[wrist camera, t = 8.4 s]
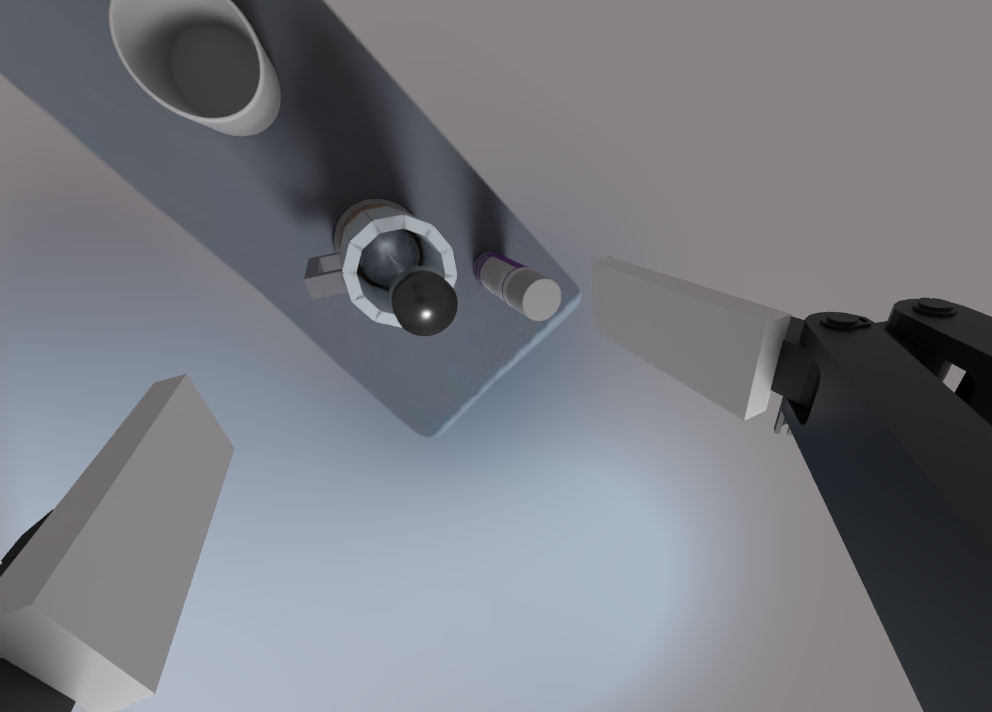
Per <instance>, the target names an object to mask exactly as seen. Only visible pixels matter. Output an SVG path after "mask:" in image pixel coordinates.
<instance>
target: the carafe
mask: <svg viewBox="0 0 992 712" xmlns="http://www.w3.org/2000/svg"><path fill="white" fill-rule="evenodd" d="M398 229H403V230H405V231H406V232H408V233H409V234H410V235H411V236H412V237H413V239H414V240H415V242H416V244H417V246H418V249H419V254H420V260H419V266H423V267H428V268H430V269H432V270H434V271H436V272H437V273H438V274H439V275H441V276H442V277H443V278H444V279H445V280H446V281H447V282H448V283H449V284H450V285H451V286H452V287H454V284H455V281H456V278H457V272H456V266H455V261H454V256H453V250H452V247H451V246H450V245H449V244H448V243H447V241H446V240H445V239H444V238H443V237H442V235H441V234H440V233H439V232H438V231H437V229H436V228H435V227H434V226H433V225H431V224H429V223H427V222H425V221H423V220H421V219H419V218H417V217H415V216H413V215H411V214H410V213H409V212H408V211H407V210H406V209H405V208H403V207H402V206H400V205H399V204H396V203H394V202H392V201H389V200H385V199H375V198H374V199H366V200H362V201H360V202H357V203H355V204H354V205H352V206H351V207H349V208H348V209H347V210H346V211H345V212H344V213H343V215H342V216H341V218H340V219H339V221H338V223H337V226H336V229H335V236H334V243H335V250H336V253H333V254H328V255H324V256H319V257H314V258H309V260H308V264H307V269H306V273H305V277H304V280H305V283H306V286H307V288H308V291H309V293H310V296H311V299H312V300H316V299H320V298H325V297H329V296H333V295H337V294H341V293H346V292H349V295H350V298H351V301H352V302H353V303H354V304H355V305H356V306H357V307H358V308H359V309H361V310H362V311H363V312H364V313H365V314H366V315H367V316H369V317H370V318H371V319H372V320H373V321H375V322H379V323H383V324H388V325H392V326H397V327H401V328H402V326H401V325H400V324H399V322H398V320H397V318H396V316H395V314H394V312H393V310H392V308H391V306H390V302H389V289H390V286H383V285H380V284H377V283H375V282H374V281H372V280H371V279H369V278H368V277H367V276H366V275H365V273H364V272H363V271H362V269H361V267H360V264H359V260H360V256H361V252H362V249H363V248H364V247H366V246H367V245H368V244H369V243H370V242H371V241H372V240H373V239H374V238H375V237H376V236H377V235H378V234H379V233H383V232H388V231H393V230H398Z"/></svg>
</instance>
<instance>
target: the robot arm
mask: <svg viewBox="0 0 992 712" xmlns="http://www.w3.org/2000/svg"><path fill="white" fill-rule="evenodd" d="M592 310H593V329H594V330H596V331H597V332H599V333H601V334H602V335H604V336H606V337H607V338H609V339H610V340H612V341H614V342H615V343H617V344H619V345H620V346H622V347H624V348H626V349H627V350H629V351H630V352H632V353H634V354H635V355H637V356H639V357H640V358H642V359H643V360H645V361H647V362H648V363H650V364H652V365H653V366H655V367H657V368H658V369H660V370H662V371H663V372H665V373H667V374H668V375H670V376H672V377H673V378H675V379H677V380H678V381H680V382H681V383H683V384H685V385H686V386H688V387H690V388H691V389H693V390H695V391H696V392H698V393H700V394H701V395H703V396H704V397H706V398H708V399H709V400H711V401H713V402H714V403H716V404H718V405H719V406H721V407H723V408H724V409H726V410H728V411H729V412H731V413H733V414H734V415H736V416H737V417H739V418H741V419H742V420H746V419H748V418H751V417H753V416H755V415H757V414H759V413H761V412H764V411H766V408H767V404H768V401H769V397H770V393H771V390H772V391H774V392H776V393H778V394H780V395H782V396H783V398H782V402H781V406H780V409H779V412H778V416H777V419H776V423H775V427H774V431H775V433H780V431H781V427H782V426H783V425H784V424H788V426H789V428H788V431H787V434H790V435H793V436H794V438H795V440H796V443H797V445H798V447H799V449H800V451H801V453H802V455H803V457H804V460H805V461H806V464H807V466H808V468H809V470H810V472H811V474H812V477H813V479H814V481H815V483H816V485H817V487H818V489H819V491H820V493H821V496H822V498H823V500H824V502H825V504H826V506H827V508H828V510H829V512H830V515H831V516H832V519H833V521H834V523H835V525H836V527H837V529H838V531H839V534H840V536H841V538H842V540H843V542H844V544H845V546H846V548H847V550H848V553H849V555H850V557H851V559H852V561H853V563H854V565H855V567H856V570H857V572H858V574H859V576H860V578H861V580H862V582H863V584H864V586H865V589H866V591H867V593H868V595H869V597H870V599H871V601H872V603H873V606H874V608H875V610H876V612H877V614H878V616H879V618H880V620H881V623H882V625H883V626H884V629H885V631H886V633H887V635H888V637H889V639H890V641H891V644H892V646H893V647H894V650H895V652H896V654H897V656H898V658H899V661H900V662H901V665H902V667H903V669H904V671H905V673H906V675H907V677H908V680H909V682H910V684H911V686H912V688H913V690H914V692H915V694H916V697H917V699H918V701H919V703H920V705H921V707H922V709H923V711H924V712H992V317H990V316H988V315H985V314H983V313H980V312H978V311H975V310H973V309H970V308H968V307H965V306H961V305H958V304H955V303H951V302H948V301H945V300H942V299H935V298H932V299H930V298H920V299H907V300H902V301H899V302H897V303H895V304H894V306H893V309H892V311H891V313H890V316H889V318H888V321H885V322H879V323H874V322H873V321H871V320H869V319H868V318H866V317H862V316H857V315H852V314H848V313H841V312H821V313H815V314H812V315H809V316H808V317H807V318H806V319H805V320H802V319H798V318H795V317H792V316H791V314H789V313H785V312H782V311H779V310H776V309H773V308H770V307H767V306H763V305H760V304H757V303H754V302H751V301H748V300H744V299H741V298H738V297H735V296H731V295H728V294H726V293H722V292H719V291H716V290H713V289H710V288H707V287H703V286H700V285H697V284H694V283H691V282H688V281H684V280H681V279H678V278H675V277H672V276H669V275H666V274H662V273H659V272H656V271H653V270H650V269H646V268H643V267H640V266H637V265H634V264H631V263H628V262H624V261H621V260H618V259H615V258H612V257H606V258H602V259H599V260H595V261H592ZM952 364H954V365H956V366H957V367H959V368H961V369H963V370H965V371H966V373H965V375H964V377H963V378H962V380H961V382H960V384H959V386H958V388H957V389H956V391H955V393H954V392H953V391H952V390H951V389H949V388H948V387H947V386H946V385H945V384H944V383H943V380H944V378H945V377H946V375H947V372H948V371H949V369H950V367H951V365H952ZM233 451H234V447H233V445H232V443H231V442H230V440H229V439H228V437H227V436H226V434H225V433H224V431H223V429H222V428H221V426H220V425H219V424H218V422H217V420H216V419H215V417H214V416H213V414H212V413H211V411H210V409H209V408H208V406H207V405H206V403H205V402H204V400H203V399H202V397H201V396H200V394H199V393H198V391H197V389H196V388H195V386H194V385H193V383H192V382H191V380H190V379H189V377H188V376H187V374H184V375H181V376H177V377H174V378H170V379H166V380H163V381H159V382H156V383H154V384H153V385H152V387H151V388H150V389H149V390H148V392H147V393H146V394H145V396H144V397H143V398H142V399H141V401H140V402H139V403H138V404H137V405H136V407H135V408H134V409H133V411H132V412H131V413H130V414H129V416H128V417H127V418H126V419H125V421H124V422H123V423H122V424H121V426H120V427H119V428H118V429H117V431H116V432H115V433H114V434H113V436H112V437H111V438H110V440H109V441H108V442H107V443H106V445H105V446H104V447H103V449H102V450H101V451H100V452H99V453H98V455H97V456H96V457H95V458H94V460H93V461H92V462H91V463H90V465H89V466H88V467H87V469H86V470H85V471H84V472H83V474H82V475H81V476H80V477H79V479H78V480H77V481H76V482H75V484H74V485H73V486H72V487H71V489H70V490H69V491H68V493H67V494H66V495H65V496H64V498H63V499H62V500H61V501H60V503H59V504H58V505H57V506H56V508H55V509H54V510H51V511H50V512H49V513H48V514H47V515H46V516H44V517H43V518H42V519H41V520H40V521H38V522H37V523H36V524H35V525H34V526H32V527H31V528H30V529H29V530H28V531H26V532H25V533H24V534H23V535H22V536H21V537H20V538H19V540H18V541H17V542H16V543H15V544H14V546H13V547H12V548H11V549H10V550H9V552H8V553H7V554H6V555H5V557H4V558H3V559H2V560H1V561H2V564H1V565H0V712H71V711H72V708H73V707H74V704H75V705H77V706H78V707H80V708H82V709H84V710H85V711H87V712H117V711H119V710H121V709H123V708H126V707H128V706H130V705H132V704H134V703H136V702H138V701H140V700H143V699H145V698H147V697H149V696H151V695H153V694H155V692H156V689H157V686H158V683H159V680H160V677H161V674H162V671H163V667H164V664H165V661H166V658H167V655H168V652H169V649H170V645H171V643H172V640H173V637H174V633H175V630H176V627H177V624H178V621H179V618H180V615H181V612H182V608H183V606H184V602H185V599H186V596H187V593H188V590H189V587H190V584H191V581H192V578H193V575H194V572H195V568H196V565H197V562H198V559H199V556H200V553H201V550H202V547H203V544H204V541H205V538H206V535H207V531H208V528H209V525H210V522H211V519H212V516H213V513H214V510H215V506H216V503H217V500H218V497H219V494H220V491H221V488H222V485H223V482H224V479H225V476H226V473H227V470H228V467H229V463H230V460H231V457H232V454H233Z"/></svg>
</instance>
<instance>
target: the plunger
mask: <svg viewBox="0 0 992 712" xmlns="http://www.w3.org/2000/svg"><path fill="white" fill-rule="evenodd" d="M419 260H420V254H419V249H418V246H417V244H416V242H415V240H414V239H413V237H412V236H411V235H410V234H409V233H408V232H406V231H405V230H403V229H398V230H393V231H388V232H383V233H379V234H378V235H377V236H376V237H375V238H374V239H373V240H372V241H371V242H370V243H369V244H368V245H367V246H366V247H364V248H363V249H362V252H361V256H360V260H359V264H360V267H361V269H362V271H363V272H364V273H365V275H366V276H367V277H368V278H369V279H371V280H372V281H374V282H375V283H377V284H380V285H383V286H390V289H389V302H390V306H391V308H392V310H393V312H394V314H395V316H396V318H397V320H398V322H399V324H400V325H401V326H402V327H403V328H404V329H405V330H406V331H408V332H410V333H412V334H415V335H418V336H431V335H435V334H437V333H439V332H441V331H443V330H444V329H446V328H447V327H448V326H449V325H450V324H451V322H452V321H453V319H454V317H455V315H456V312H457V304H458V302H457V296H456V293H455V291H454V289H453V287H452V286H451V285H450V284H449V283H448V282H447V281H446V280H445V279H444V278H443V277H442V276H441V275H439V274H438V273H437V272H436V271H434V270H432V269H430V268H428V267H423V266H419Z"/></svg>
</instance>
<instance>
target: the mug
mask: <svg viewBox="0 0 992 712" xmlns="http://www.w3.org/2000/svg"><path fill="white" fill-rule="evenodd" d="M108 18H109V28H110V33H111V37H112V40H113V43H114V46H115V48H116V51H117V53H118V55H119V57H120V59H121V61H122V62H123V64H124V66H125V67H126V69H127V70H128V72H129V73H130V74H131V76H132V77H133V78H134V80H135V81H136V82H137V83H138V84H139V85H140V86H141V87H142V88H143V89H144V90H145V91H146V92H147V93H148V94H149V95H150V96H151V97H153V98H154V99H155V100H156V101H157V102H159V103H160V104H162V105H163V106H165V107H166V108H168V109H169V110H171V111H173V112H175V113H177V114H179V115H181V116H183V117H186V118H188V119H190V120H193V121H195V122H198V123H200V124H203V125H205V126H208V127H210V128H212V129H214V130H216V131H219V132H221V133H225V134H228V135H234V136H250V135H255V134H257V133H260V132H262V131H264V130H265V129H267V128H268V127H269V126H270V125H271V124H272V123H273V122H274V120H275V118H276V117H277V115H278V112H279V109H280V104H281V90H280V84H279V80H278V77H277V74H276V72H275V69H274V67H273V65H272V63H271V62H270V60H269V58H268V56H267V55H266V53H265V51H264V49H263V47H262V45H261V43H260V41H259V39H258V37H257V35H256V34H255V32H254V30H253V28H252V26H251V25H250V23H249V22H248V20H247V19H246V17H245V16H244V14H243V13H242V12H241V11H240V9H239V8H238V7H237V6H236V5H235V4H234V3H233V2H232V1H231V0H110V3H109V11H108Z"/></svg>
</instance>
